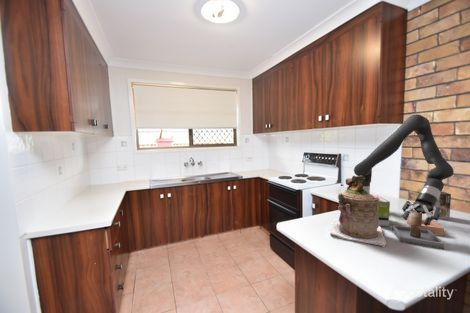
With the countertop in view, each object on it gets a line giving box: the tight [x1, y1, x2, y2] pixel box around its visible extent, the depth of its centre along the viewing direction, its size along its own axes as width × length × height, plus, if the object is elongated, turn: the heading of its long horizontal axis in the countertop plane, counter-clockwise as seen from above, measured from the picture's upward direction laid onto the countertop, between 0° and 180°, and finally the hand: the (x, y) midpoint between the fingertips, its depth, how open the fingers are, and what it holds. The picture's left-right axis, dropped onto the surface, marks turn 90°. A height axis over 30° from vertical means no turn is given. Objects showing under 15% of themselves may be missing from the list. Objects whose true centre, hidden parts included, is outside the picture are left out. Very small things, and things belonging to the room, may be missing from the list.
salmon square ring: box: [406, 216, 445, 237], centre depth 114 cm, size 12×12×4 cm
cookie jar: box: [329, 175, 387, 248], centre depth 110 cm, size 25×25×32 cm
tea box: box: [374, 194, 391, 227], centre depth 126 cm, size 15×10×15 cm
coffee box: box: [426, 191, 452, 220], centre depth 131 cm, size 9×6×16 cm
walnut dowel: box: [410, 212, 423, 238], centre depth 104 cm, size 4×4×12 cm
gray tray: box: [391, 224, 445, 250], centre depth 104 cm, size 16×16×2 cm
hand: (414, 221), depth 103 cm, fingers open, 8 cm apart
